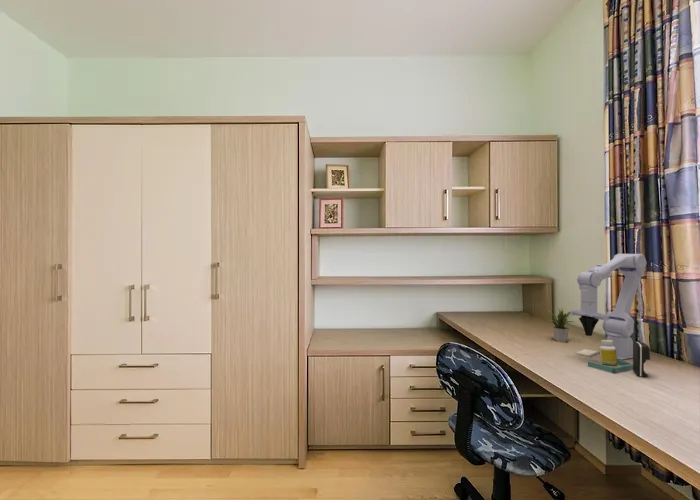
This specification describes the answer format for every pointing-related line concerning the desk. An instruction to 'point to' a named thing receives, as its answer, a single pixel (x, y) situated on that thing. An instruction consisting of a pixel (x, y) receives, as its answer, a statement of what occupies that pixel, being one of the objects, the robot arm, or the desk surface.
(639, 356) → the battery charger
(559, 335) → the house plant
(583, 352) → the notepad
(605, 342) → the supplement bottle
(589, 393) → the desk surface
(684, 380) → the desk surface
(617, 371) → the bracket
